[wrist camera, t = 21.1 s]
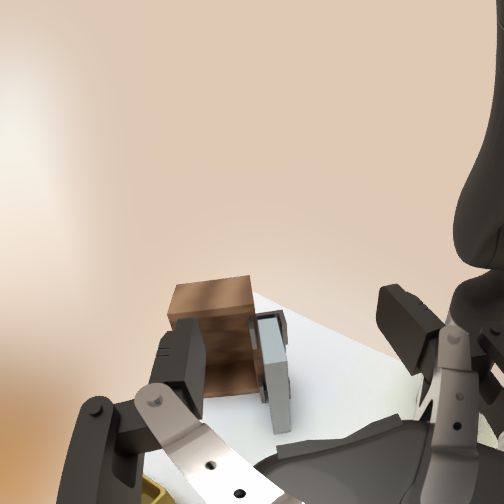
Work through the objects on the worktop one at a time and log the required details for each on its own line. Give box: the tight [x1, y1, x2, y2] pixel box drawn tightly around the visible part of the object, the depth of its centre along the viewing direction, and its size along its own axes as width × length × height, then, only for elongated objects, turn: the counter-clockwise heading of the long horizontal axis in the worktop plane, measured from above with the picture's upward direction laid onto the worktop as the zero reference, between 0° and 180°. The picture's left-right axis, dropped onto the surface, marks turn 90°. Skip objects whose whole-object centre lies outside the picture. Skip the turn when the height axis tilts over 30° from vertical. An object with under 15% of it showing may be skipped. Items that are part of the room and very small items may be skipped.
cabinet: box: [167, 275, 266, 398], centre depth 41 cm, size 11×8×18 cm
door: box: [258, 318, 290, 434], centre depth 34 cm, size 2×8×16 cm, turn 4°
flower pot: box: [141, 474, 175, 504], centre depth 19 cm, size 9×9×9 cm
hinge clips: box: [248, 310, 290, 403], centre depth 37 cm, size 5×3×16 cm
